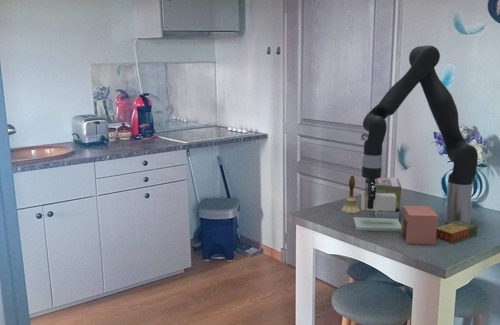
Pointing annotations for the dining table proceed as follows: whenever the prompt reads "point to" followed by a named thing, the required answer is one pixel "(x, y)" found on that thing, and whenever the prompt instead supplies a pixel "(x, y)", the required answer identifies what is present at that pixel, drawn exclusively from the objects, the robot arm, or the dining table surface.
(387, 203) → the white pink-banded block
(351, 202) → the hand bell
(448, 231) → the carton
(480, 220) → the dining table surface
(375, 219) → the stub board
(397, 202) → the tea box
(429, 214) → the salmon pink box
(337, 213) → the dining table surface
